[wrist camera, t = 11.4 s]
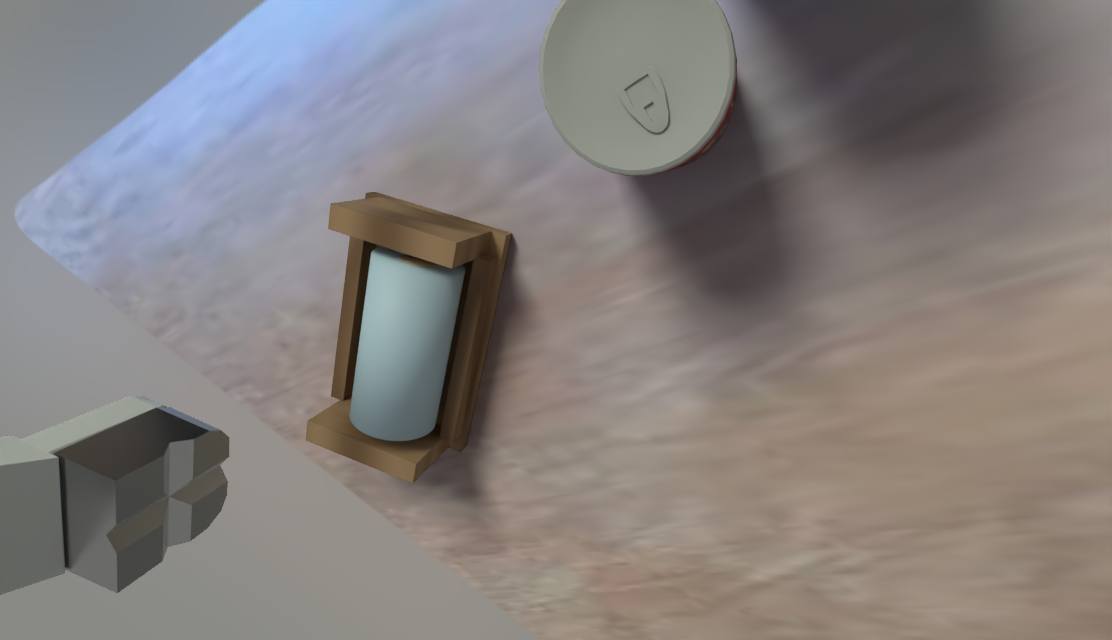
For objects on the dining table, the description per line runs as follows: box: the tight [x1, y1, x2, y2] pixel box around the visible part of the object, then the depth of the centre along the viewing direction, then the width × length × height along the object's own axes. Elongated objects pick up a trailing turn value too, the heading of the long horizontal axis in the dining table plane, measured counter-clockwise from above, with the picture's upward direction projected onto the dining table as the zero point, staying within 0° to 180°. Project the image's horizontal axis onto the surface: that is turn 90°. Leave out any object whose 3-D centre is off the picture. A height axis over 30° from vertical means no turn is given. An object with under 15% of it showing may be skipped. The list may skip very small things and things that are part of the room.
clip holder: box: [306, 192, 512, 484], centre depth 38 cm, size 10×16×6 cm, turn 166°
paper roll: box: [349, 247, 465, 441], centre depth 38 cm, size 6×11×6 cm, turn 166°
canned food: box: [539, 0, 737, 176], centre depth 28 cm, size 8×8×11 cm
